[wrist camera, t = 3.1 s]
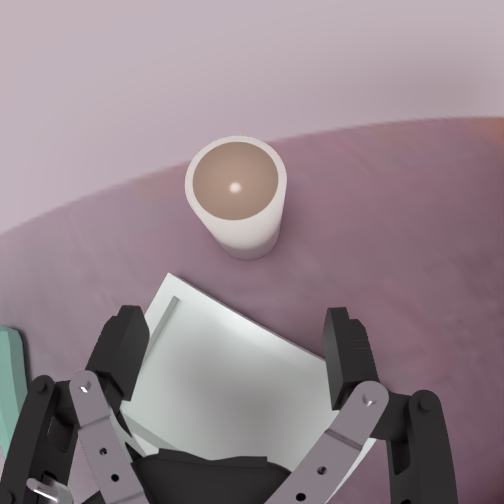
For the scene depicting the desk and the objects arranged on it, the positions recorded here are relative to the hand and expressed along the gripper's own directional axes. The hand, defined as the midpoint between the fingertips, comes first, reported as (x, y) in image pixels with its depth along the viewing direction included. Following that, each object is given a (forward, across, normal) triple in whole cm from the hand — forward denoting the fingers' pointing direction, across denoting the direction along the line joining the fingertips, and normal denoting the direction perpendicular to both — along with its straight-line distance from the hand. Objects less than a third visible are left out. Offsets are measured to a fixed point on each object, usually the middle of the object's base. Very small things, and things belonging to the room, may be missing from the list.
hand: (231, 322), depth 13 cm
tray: (+2, 0, +13) cm, 13 cm away
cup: (+12, 0, +3) cm, 13 cm away
